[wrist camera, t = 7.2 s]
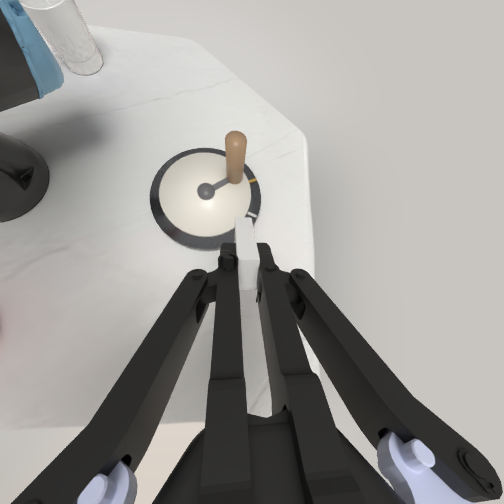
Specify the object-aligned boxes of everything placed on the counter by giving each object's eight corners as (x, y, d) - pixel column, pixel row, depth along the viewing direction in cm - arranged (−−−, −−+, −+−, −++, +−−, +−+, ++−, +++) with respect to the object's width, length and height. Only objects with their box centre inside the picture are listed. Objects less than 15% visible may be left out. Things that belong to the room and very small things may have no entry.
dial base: (130, 190, 36) (125, 185, 35) (216, 136, 40) (215, 129, 39) (198, 273, 35) (196, 272, 33) (280, 208, 39) (282, 204, 37)
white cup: (85, 84, 39) (38, 17, 30) (55, 62, 40) (-2, -12, 30) (114, 62, 41) (79, -9, 31) (85, 41, 41) (40, -36, 32)
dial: (162, 241, 33) (134, 220, 24) (159, 157, 36) (133, 108, 26) (255, 233, 35) (264, 211, 26) (245, 154, 38) (250, 108, 29)
